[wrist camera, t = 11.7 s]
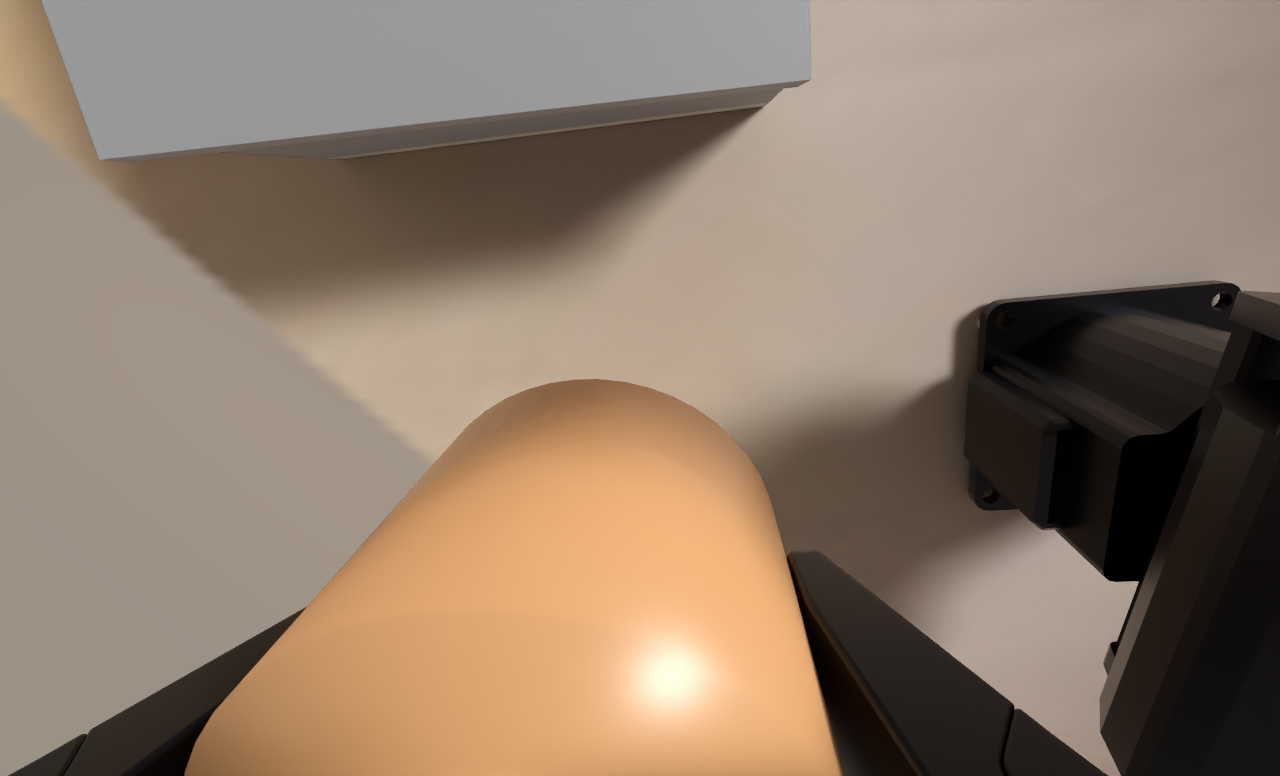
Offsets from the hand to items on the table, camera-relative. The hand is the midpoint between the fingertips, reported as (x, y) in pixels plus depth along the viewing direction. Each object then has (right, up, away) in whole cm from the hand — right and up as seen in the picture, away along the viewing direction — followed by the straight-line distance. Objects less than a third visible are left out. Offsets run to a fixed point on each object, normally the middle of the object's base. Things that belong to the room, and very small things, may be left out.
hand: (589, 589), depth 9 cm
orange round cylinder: (0, 0, +1) cm, 1 cm away
